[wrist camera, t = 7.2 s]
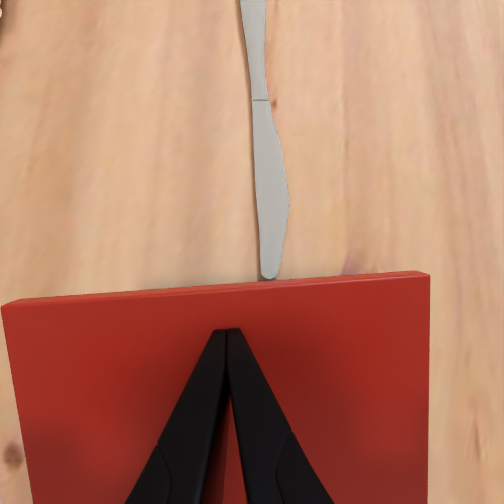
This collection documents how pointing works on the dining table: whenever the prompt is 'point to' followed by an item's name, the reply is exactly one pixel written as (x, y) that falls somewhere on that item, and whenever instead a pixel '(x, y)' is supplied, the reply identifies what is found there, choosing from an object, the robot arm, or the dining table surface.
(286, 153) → the dining table surface
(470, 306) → the dining table surface
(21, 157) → the dining table surface
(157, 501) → the robot arm
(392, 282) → the lunchbox lid
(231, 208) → the dining table surface
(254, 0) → the butter knife
